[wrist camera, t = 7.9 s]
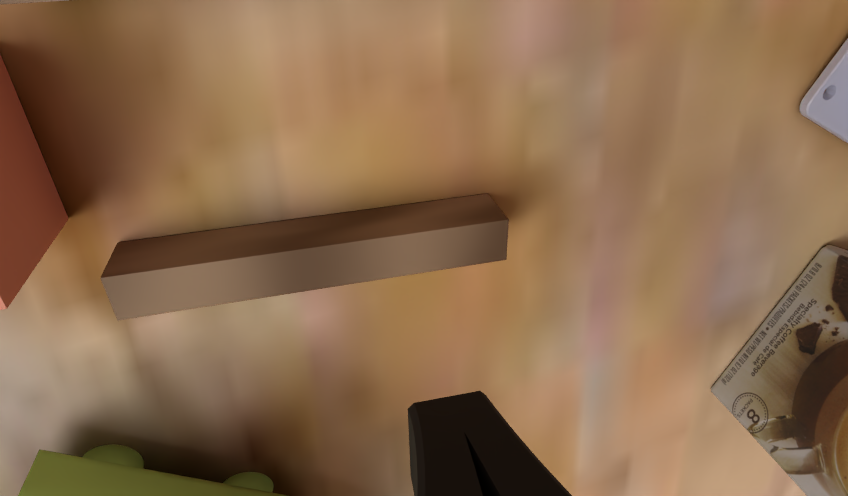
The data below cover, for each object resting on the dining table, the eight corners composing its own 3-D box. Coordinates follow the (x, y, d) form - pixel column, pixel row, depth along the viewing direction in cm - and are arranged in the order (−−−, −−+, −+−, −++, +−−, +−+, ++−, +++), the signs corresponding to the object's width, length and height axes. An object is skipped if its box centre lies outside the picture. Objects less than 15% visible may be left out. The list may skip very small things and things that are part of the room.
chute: (497, -95, 15) (526, -97, 13) (486, 231, 20) (506, 259, 18) (-2, -78, 13) (-45, -78, 11) (132, 282, 18) (117, 320, 16)
